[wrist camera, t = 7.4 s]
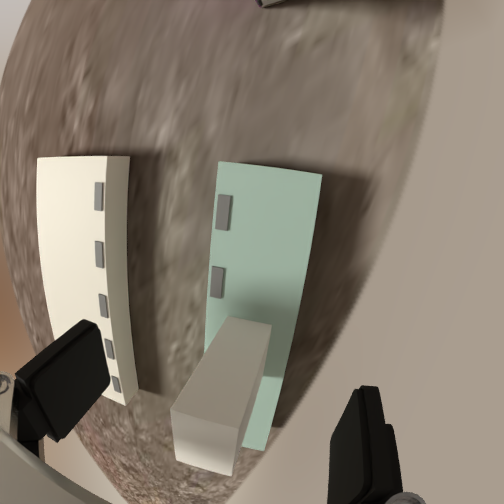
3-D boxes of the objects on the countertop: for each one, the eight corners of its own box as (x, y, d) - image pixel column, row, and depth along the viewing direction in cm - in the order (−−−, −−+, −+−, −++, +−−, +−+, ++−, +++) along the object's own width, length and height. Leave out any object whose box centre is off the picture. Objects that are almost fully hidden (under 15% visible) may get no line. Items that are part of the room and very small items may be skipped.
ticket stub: (232, 162, 13) (129, 157, 5) (320, 174, 12) (332, 177, 5) (211, 415, 18) (167, 508, 10) (269, 429, 17) (242, 529, 9)
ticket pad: (60, 156, 15) (36, 158, 13) (129, 156, 14) (105, 156, 12) (79, 362, 20) (64, 376, 18) (138, 389, 19) (125, 406, 17)
